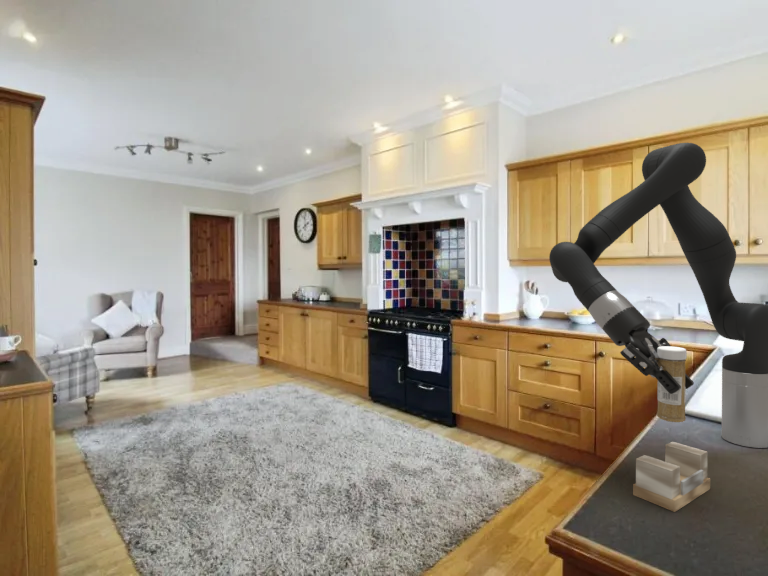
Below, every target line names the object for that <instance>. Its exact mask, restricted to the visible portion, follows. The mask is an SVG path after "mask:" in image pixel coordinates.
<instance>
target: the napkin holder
mask: <svg viewBox="0 0 768 576" xmlns="http://www.w3.org/2000/svg"><path fill="white" fill-rule="evenodd" d="M664 446H665V451H664V452H665V453H664V454H665V455H664V458H665V459H664V460H665V461H664V460H661V459H658V458H656V457H652V456H650V455H645V454H643V455H641V456H639V457H637V458H635V483H633V484H632V495H633V496H634V497H637V498H640V499H642V500H644V501H647V502H650V503H651V504H654V505H657V506H660V507H662V508H663V509H667V510H668V511H671V512H673V513H676V512H678V511H679V510H681V508H683V507H685V506H687V505H688V504H689V503H692V501H694V500H695V499H698V498H699V497H701V495H703V494H705V493H706V492H708V491H709V490H711V478H710V477H708V451H706V450H702V449H701V448H696V447H694V446H693V447H692V446H689V445H685V444H683V443H679V442H675V441H671V442H669V443H665V445H664Z"/></svg>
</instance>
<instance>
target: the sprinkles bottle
mask: <svg viewBox="0 0 768 576" xmlns="http://www.w3.org/2000/svg"><path fill="white" fill-rule="evenodd" d="M657 354H658V356H659V358H660V359H659V361H660V363H661V364H662V365H663V367H664V368H665V370H664V371H666V370H667V372H668V373H669V374H670V375H671V376H672V377H673V378H674V379H675V380H676V381H677V382H678V384H679V385H680V386H681V389H680V390H678V391H677V392H675V393H673V394H670V393H669V392H668V391H667V390H666V389H665V388H664V387H663V386H662V384H661V383H660V382H659V381H658V380H657V394H656V397H657V413H656V415H657V416H656V417H657V418H659V419H660V420H662V421H666V422H669V423H683V422H685V421H686V419H687V418H686V400H687V397H686V395H687V394H686V391H687V389H686V387H685V373H686V360H687V358H688V356H687V354H688V353H687V348H684V347H679V346H660V347H658V348H657Z"/></svg>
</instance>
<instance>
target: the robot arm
mask: <svg viewBox="0 0 768 576" xmlns="http://www.w3.org/2000/svg"><path fill="white" fill-rule="evenodd" d="M706 164H707V156H706V153H705V150H704V149H703V148H702V147H701V146H700V145H698V144H696V143H693V142H679V143H676V144H675V143H674V144H671V145H667V146H663V147H658V148H656V149H654V150H651V151H650V152H649V153H648V154H646V156H645V157H644V159H643V160H642V165H641V173H642V177H643V179H644V181H643V182H641V183H640V184H639V185H637V186H636V187H635V188H633V189H631V190H630V191H629V192H627V193H626V194H624V195H622V196H621V197H618V198H617V199H616V200H614V201H612V202H611V203H609V204H608V205H607V206H605V207H604V208H603V209H601V210H600V211H599V212H598V213H596V215H595V216H594V217H592V218H591V219H589V221H588V222H587V223H586V224H584V226H582V227H581V228H580V230H579V232H578V235H577V239H576V240H575V242H572V241H562V242H558V243H557V244H555V245H554V246H553V247H552V248H551V250H550V253H549V263H550V266H551V270H552V273H553V275H554V277H555V279H557V280H558V281H559V282H562V283H568V285H569V286H570V287H571V289H572V291H573V294H574V295H575V297H576V299H577V300H578V301H579V303H581V305H582V306H583V307H584V308H585V309H586V311H588V313H589V314H590V316H591V317H592V319H593V321H595V323H596V324H597V325H598V326H599V327H600V328H601V329H602V330H603V331H604V333H605V334H606V335H607V336H608V338H609V339H610V340H611V342H613V343H614V344H615V345H616V346H618V347H623V346H624V347H625V348H623V349H622V350H621V351H620V355H621V356H622V357H623V358H624V359H625V360H627V361H628V362H629V364H631V365H632V366H633V367H635V368H636V369H637V370H638V371H639V372H640V373H641V374H642V375H644V376H645V377H647V376H651V378H655V379H656V380H657V382H658V381H659V382H660V383H661V384H662V386H663V387H664V388H665V389H666V390H667V391H668V392H669V393H670V394H673V393H675V392H677V391H678V390H680V389H681V386H680V385H679V384H678V382H677V381H676V380H675V379H674V378H673V377H672V376H671V375H670V374H669V373H668V372H667V370H666V371H664V370H665V368H664V367H663V365H662V364H661V363H660V361H659V359H660V358H659V356H658V354H657V348H658V347H660V346H671V344H670V342H669V341H668V340H667V339H666V338H665V337H662V338H660V339H657V338H656V337H654V335H652V334H651V333H649V329H650V327H651V323H650V321H649V320H648V319H647V318H646V317H645V316H644V315H643V314H642V313H641V312H640V311H639V310H638V309H637V307H635V306H634V305H633V304H632V303H631V302H630V300H629V299H628V298H627V297H625V296H624V295H623V294H622V293H621V292H619V291H618V290H617V289H616V288H615V287H614V286H613V284H612V283H610V282H609V280H608V279H606V278H605V277H604V276H603V274H602V273H601V272H600V271H599V270H598V268H597V267H596V265H595V263H596V261H598V259H599V257H600V256H601V255H602V254H603V252H604V251H605V250H606V249H608V248H609V247H610V246H611V245H612V244H613V243H614V242H616V241H617V240H618V239H619V238H620V237H621V236H622V235H623V234H625V233H626V231H628V230H629V229H631V227H633V225H635V224H636V223H637V222H638V221H640V220H641V219H642V218H644V217H645V216H646V215H647V214H648V213H650V212H651V211H653V210H654V209H655V208H656V207H658V206H660V207H661V208H662V210H663V212H664V215H665V216H666V218H667V220H668V223H669V224H670V226H671V229H672V230H673V233H674V234H675V236H676V239H677V241H678V243H679V245H680V248H681V250H682V252H683V255H684V256H685V259H686V261H687V262H688V264H689V267H690V268H691V270H692V272H693V274H694V277H695V279H696V281H697V283H698V286H699V288H700V290H701V292H702V296H703V298H704V302H705V305H706V308H707V311H708V313H709V316H710V319H711V322H712V325H713V327H714V329H715V331H716V332H717V333H718V334H719V335H720V336H721V337H722V338H725V339H727V340H733V341H739V342H743V345H742V350H741V351H739V352H736V353H732V354H726V355H724V356H723V357H722V360H721V376H722V377H721V438H722V439H724V440H725V441H726V442H729V443H732V444H735V445H739V446H742V447H747V448H757V449H767V448H768V304H764V303H753V302H752V303H751V302H739V301H738V300H737V299H736V297H735V295H734V293H733V291H732V289H731V286H730V285H731V284H730V278H731V275H732V273H733V269H734V266H735V264H736V260H737V250H736V248H735V245H734V243H733V241H732V239H731V237H730V234H729V232H728V229H726V226H725V225H724V223H722V222H721V221H720V219H718V218H717V217H716V216H715V215H714V214H713V213H712V212H711V211H709V210H708V209H707V208H706V207H704V206H703V205H702V204H701V203H700V202H699V201H698V200H697V199H696V198H695V196H694V195H693V193H692V191H691V189H690V187H689V185H691V184H692V183H693V182H694V181H695V182H696V181H697V179H698V178H699V177H700V176H701V175H702V174H703V172H704V170H705V168H706ZM693 385H694V381H693V380H692V379H691V377H689V376H688V374H687V373H686V372H685V387H686V390H688V389H689V388H690V387H692V386H693Z"/></svg>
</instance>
